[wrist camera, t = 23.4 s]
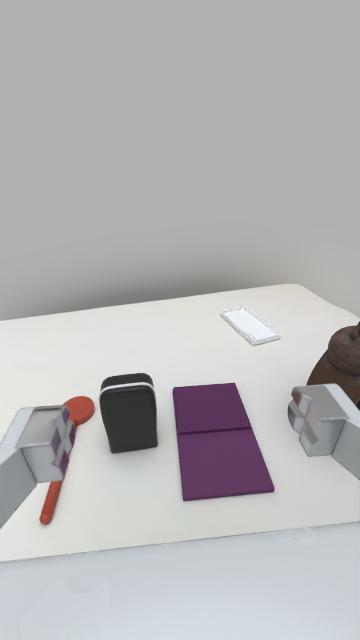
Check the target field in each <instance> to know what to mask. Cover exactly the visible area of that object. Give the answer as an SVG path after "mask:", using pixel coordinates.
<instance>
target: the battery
mask: <svg viewBox="0 0 360 640" xmlns="http://www.w3.org/2000/svg"><path fill="white" fill-rule="evenodd" d="M99 404H100V410H101V415H102V419H103V423H104V426H105V430H106V433H107V436H108V440H109V446H110V451H111V452H112V453H115V452H123V451H130V450H137V449H143V448H149V447H154V446H157V445H158V435H157V405H156V396H155V390H154V386H153V382H152V379H151V377H150V376H149V375H147V374H145V373H136V374H126V375H119V376H112V377H108V378H106V379H105V380H104V381H103V383H102V385H101V391H100V394H99Z"/></svg>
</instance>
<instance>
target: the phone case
mask: <svg viewBox="0 0 360 640" xmlns="http://www.w3.org/2000/svg"><path fill="white" fill-rule="evenodd" d="M236 308H240V310H235V311H230V312H226V313H225V311H227V310H231V309H236ZM221 316H222V317H223V318H224V319H225V320H226V321H227V322H228V323H229V324H230V325H232V326H233V327H234V328H235V329H236V330H237V331H238V332H239V333H240V334H241V335H242V336H243V337H245V338H246V339H247V340H248V341H249V342H250V343H251V344H253V345H258V344H261V343H265V342H269V341H273V340H277V339H280V335H281V333H280V332H279V331H278V330H277V329H275V328H274V327H273V326H271V325H270V324H269V323H267V322H266V321H265V320H263V319H262V318H261V317H259V316H258V315H257V314H255V313H254V312H253V311H251V310H250V309H249V308H247V307H246V306H239V307H234V308H230V309H225V310H221ZM248 334H250V335H251V336H253V337H254V338H255V339H253V338H252V337H251V336H250V335H248ZM245 335H246V336H247V337H246V336H245Z"/></svg>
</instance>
